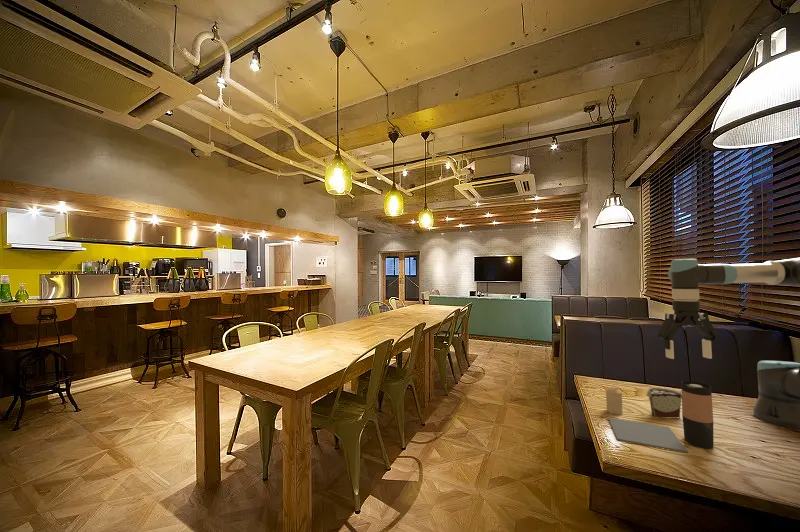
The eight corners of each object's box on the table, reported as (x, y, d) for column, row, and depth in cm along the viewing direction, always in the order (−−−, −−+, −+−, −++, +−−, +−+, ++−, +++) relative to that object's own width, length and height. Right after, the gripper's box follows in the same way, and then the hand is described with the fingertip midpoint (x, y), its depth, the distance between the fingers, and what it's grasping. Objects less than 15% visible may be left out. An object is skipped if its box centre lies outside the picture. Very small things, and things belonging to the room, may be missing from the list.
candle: (620, 410, 132) (620, 386, 132) (624, 415, 127) (623, 391, 127) (605, 408, 134) (604, 385, 134) (608, 413, 129) (607, 389, 129)
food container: (671, 411, 130) (670, 387, 130) (683, 418, 124) (682, 393, 124) (640, 410, 131) (639, 387, 132) (650, 417, 125) (649, 392, 125)
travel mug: (706, 439, 107) (703, 381, 108) (720, 451, 100) (717, 389, 101) (678, 436, 110) (676, 379, 111) (690, 447, 103) (688, 386, 104)
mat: (668, 428, 116) (668, 427, 116) (688, 453, 99) (688, 451, 99) (608, 419, 124) (608, 417, 124) (617, 440, 108) (617, 438, 108)
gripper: (709, 299, 118) (712, 355, 117) (644, 300, 119) (646, 355, 118) (730, 300, 111) (733, 360, 110) (660, 301, 111) (662, 360, 110)
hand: (688, 358), depth 114 cm, fingers open, 13 cm apart
